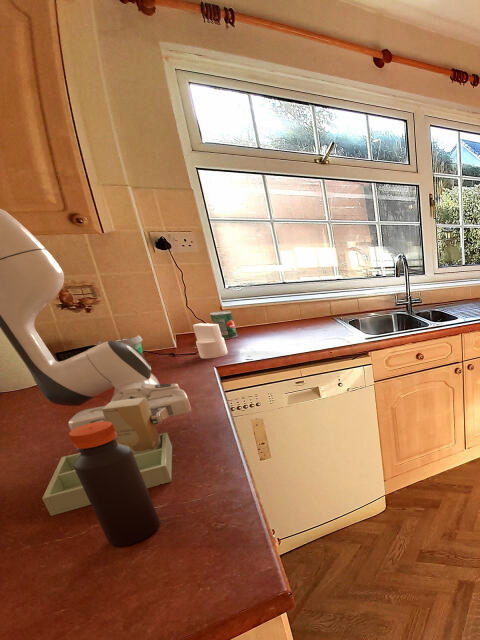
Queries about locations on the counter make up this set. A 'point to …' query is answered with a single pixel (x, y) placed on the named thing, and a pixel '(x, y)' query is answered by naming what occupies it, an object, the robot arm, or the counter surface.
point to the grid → (71, 494)
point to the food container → (131, 343)
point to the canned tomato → (224, 323)
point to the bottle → (113, 484)
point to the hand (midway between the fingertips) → (132, 425)
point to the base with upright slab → (209, 341)
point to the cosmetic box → (133, 424)
